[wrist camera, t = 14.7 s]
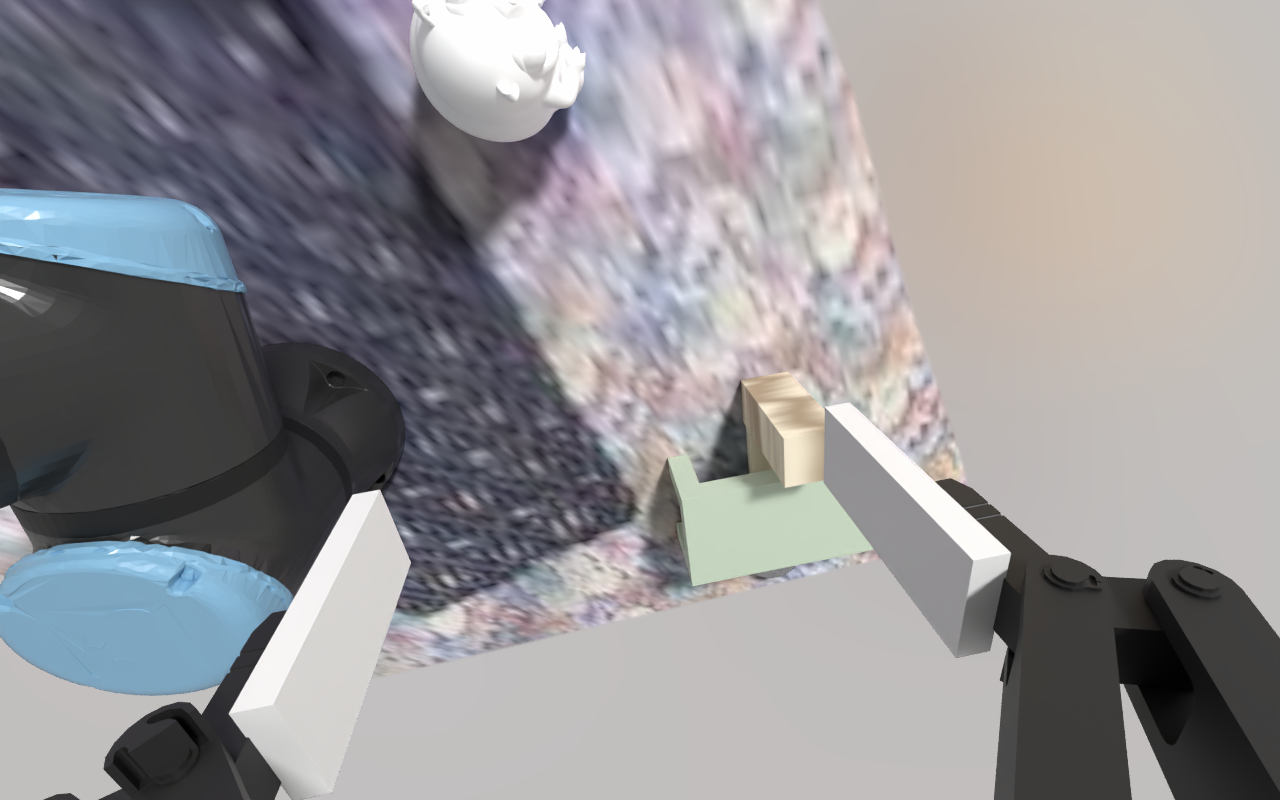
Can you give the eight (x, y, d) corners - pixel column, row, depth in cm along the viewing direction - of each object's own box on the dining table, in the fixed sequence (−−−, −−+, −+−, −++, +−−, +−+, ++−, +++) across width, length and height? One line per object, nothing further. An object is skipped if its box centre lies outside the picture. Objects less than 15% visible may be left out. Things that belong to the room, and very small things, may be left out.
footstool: (678, 537, 58) (692, 586, 52) (667, 458, 54) (681, 500, 48) (842, 505, 60) (875, 549, 53) (845, 424, 55) (882, 462, 49)
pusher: (749, 531, 59) (787, 611, 50) (740, 380, 51) (783, 438, 42) (790, 523, 60) (835, 600, 50) (787, 371, 52) (841, 428, 42)
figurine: (494, 174, 41) (472, 189, 31) (392, 49, 37) (324, 15, 26) (599, 83, 40) (614, 65, 29) (503, -59, 36) (480, -141, 25)
